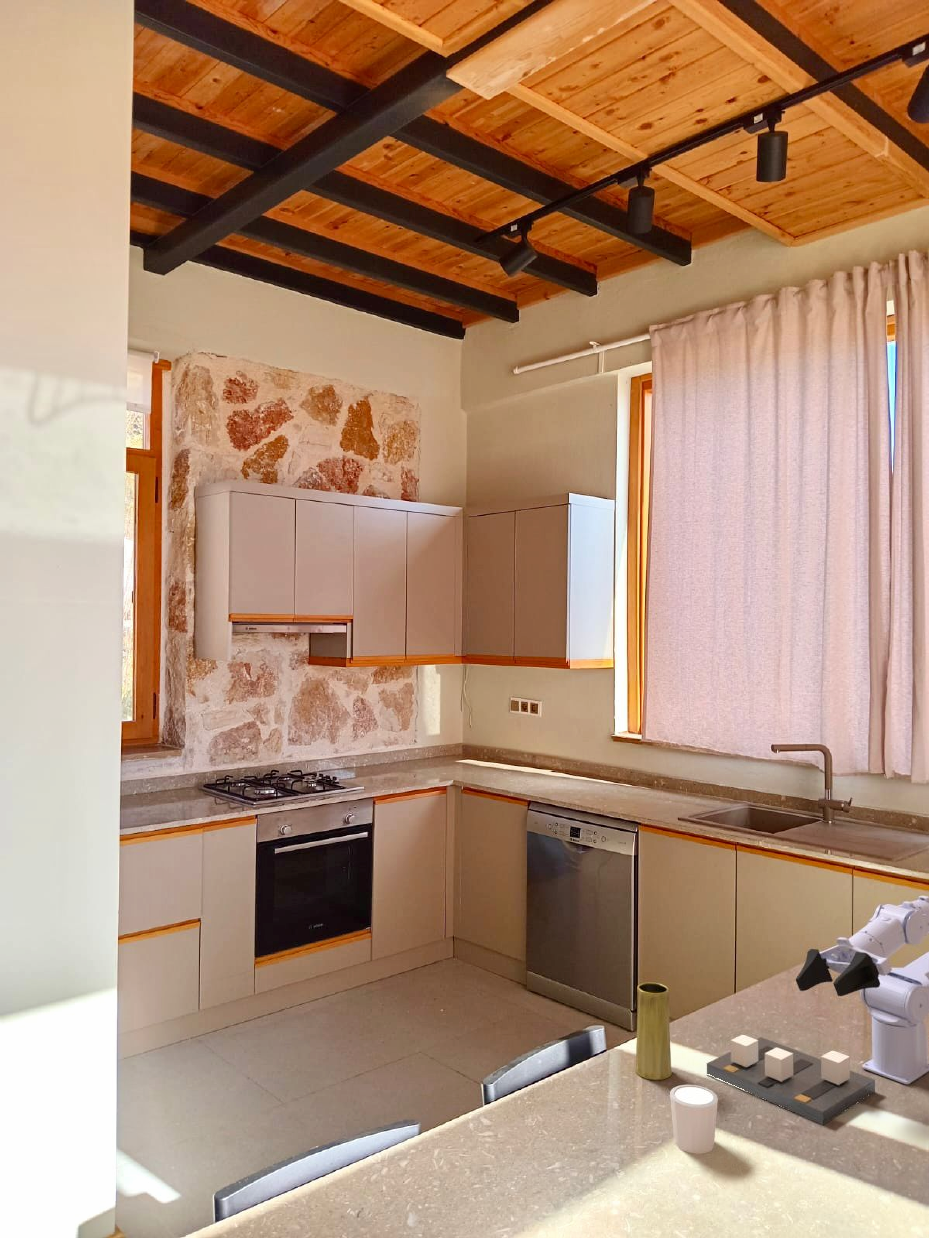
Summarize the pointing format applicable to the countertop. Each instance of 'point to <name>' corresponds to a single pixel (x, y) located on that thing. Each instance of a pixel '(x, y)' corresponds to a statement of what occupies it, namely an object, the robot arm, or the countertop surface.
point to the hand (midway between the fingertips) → (817, 987)
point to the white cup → (694, 1118)
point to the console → (795, 1084)
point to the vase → (653, 1032)
